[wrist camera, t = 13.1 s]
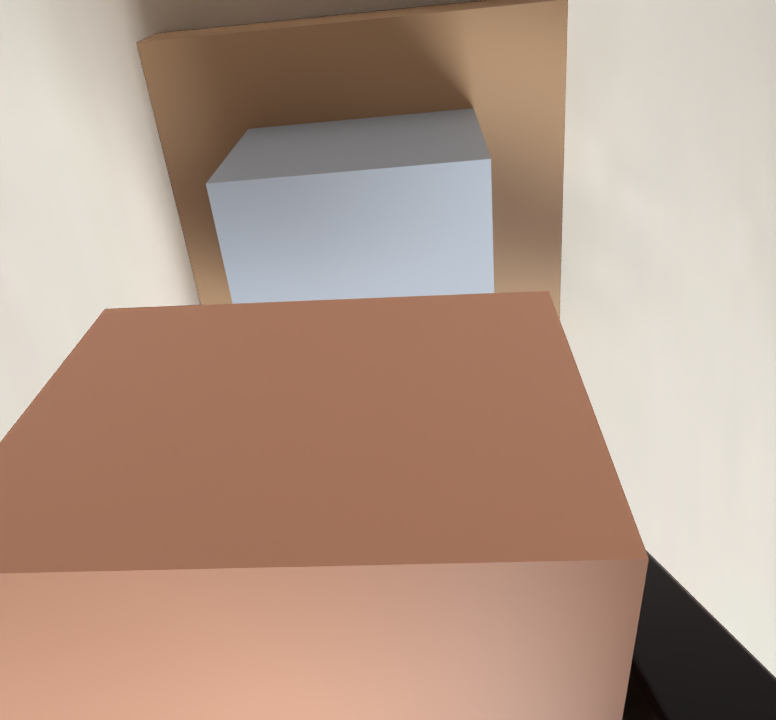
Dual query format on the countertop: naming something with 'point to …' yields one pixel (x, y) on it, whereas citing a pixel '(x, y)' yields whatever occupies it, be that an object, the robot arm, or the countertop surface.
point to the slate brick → (357, 209)
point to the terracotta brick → (317, 519)
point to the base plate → (376, 108)
